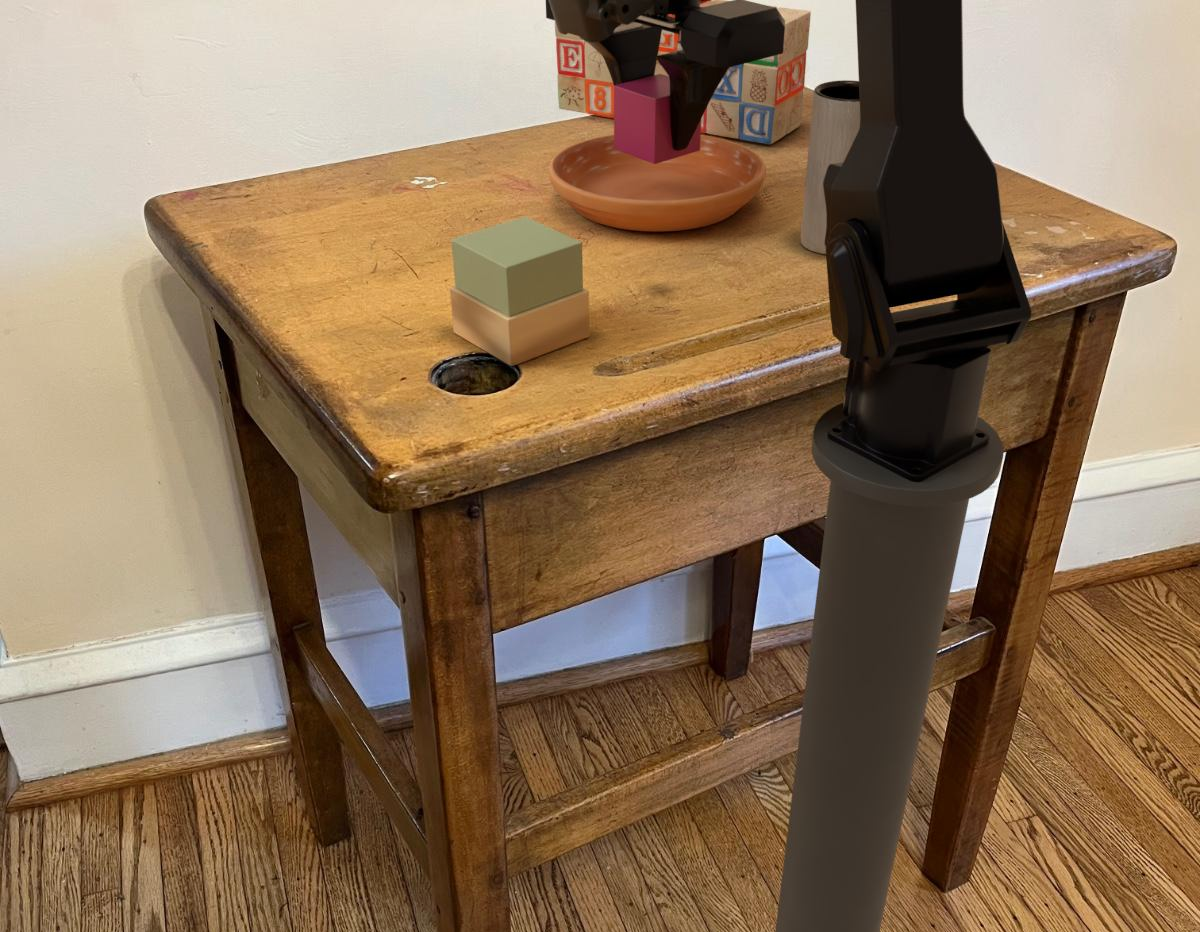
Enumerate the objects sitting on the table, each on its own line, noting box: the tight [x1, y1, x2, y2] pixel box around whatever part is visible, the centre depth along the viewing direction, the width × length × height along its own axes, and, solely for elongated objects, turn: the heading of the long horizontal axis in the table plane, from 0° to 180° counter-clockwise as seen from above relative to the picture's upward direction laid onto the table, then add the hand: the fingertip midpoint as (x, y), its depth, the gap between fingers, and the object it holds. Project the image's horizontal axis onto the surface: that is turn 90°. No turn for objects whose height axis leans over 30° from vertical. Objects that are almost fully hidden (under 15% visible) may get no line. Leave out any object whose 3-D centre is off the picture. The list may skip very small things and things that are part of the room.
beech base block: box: [449, 285, 591, 367], centre depth 75 cm, size 6×6×3 cm
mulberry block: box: [613, 74, 702, 164], centre depth 89 cm, size 4×4×4 cm
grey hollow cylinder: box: [800, 79, 860, 255], centre depth 83 cm, size 4×4×10 cm
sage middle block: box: [450, 215, 584, 316], centre depth 73 cm, size 6×6×3 cm
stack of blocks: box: [554, 0, 812, 145], centre depth 105 cm, size 21×6×12 cm, turn 58°
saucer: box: [548, 134, 767, 233], centre depth 92 cm, size 16×16×3 cm
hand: (657, 141), depth 90 cm, fingers closed on mulberry block, 4 cm apart
